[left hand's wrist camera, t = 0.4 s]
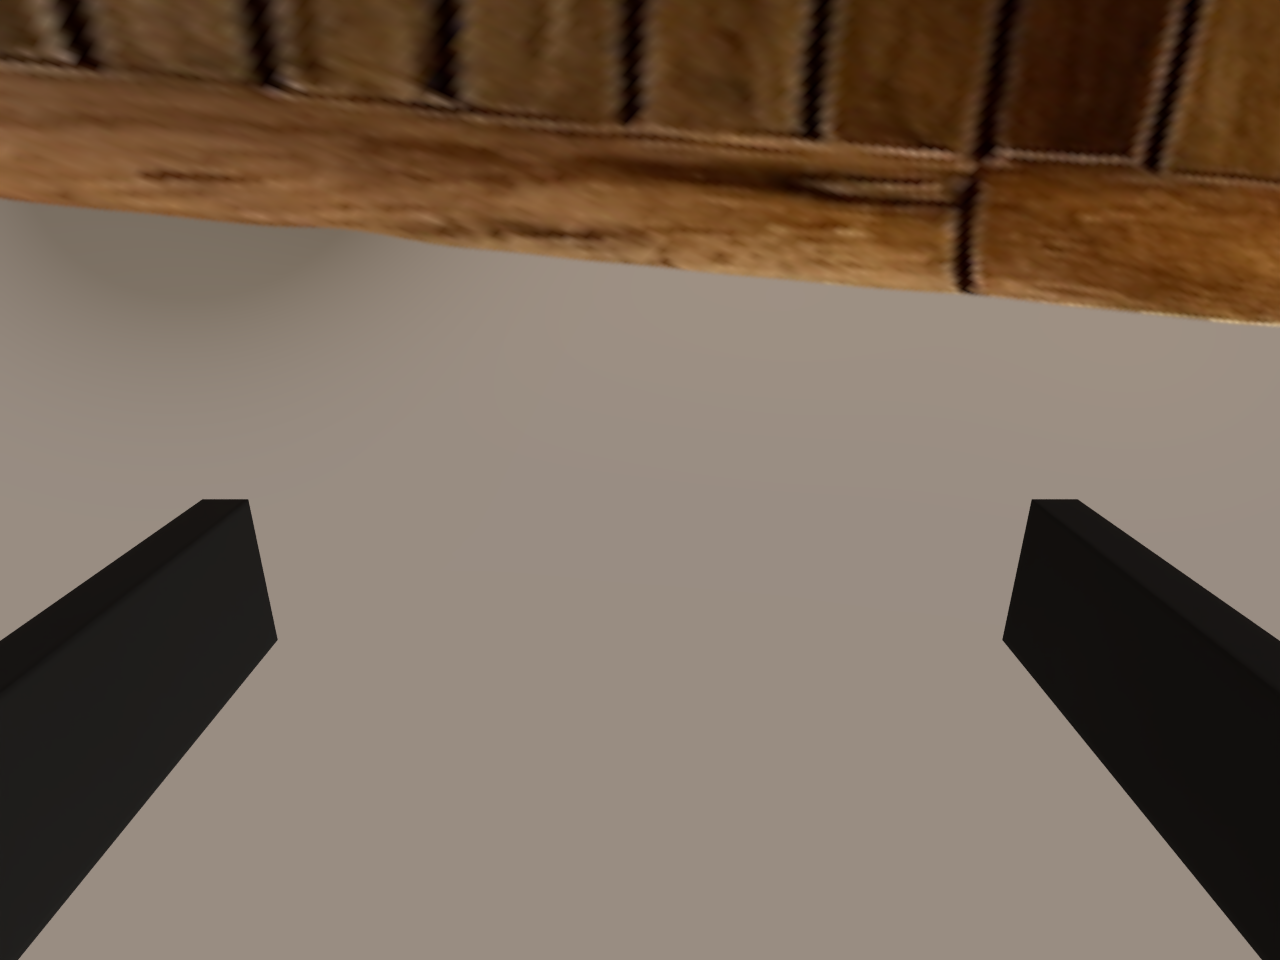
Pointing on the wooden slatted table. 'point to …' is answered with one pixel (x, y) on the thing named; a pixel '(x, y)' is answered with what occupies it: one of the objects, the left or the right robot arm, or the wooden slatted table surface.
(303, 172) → the wooden slatted table surface
